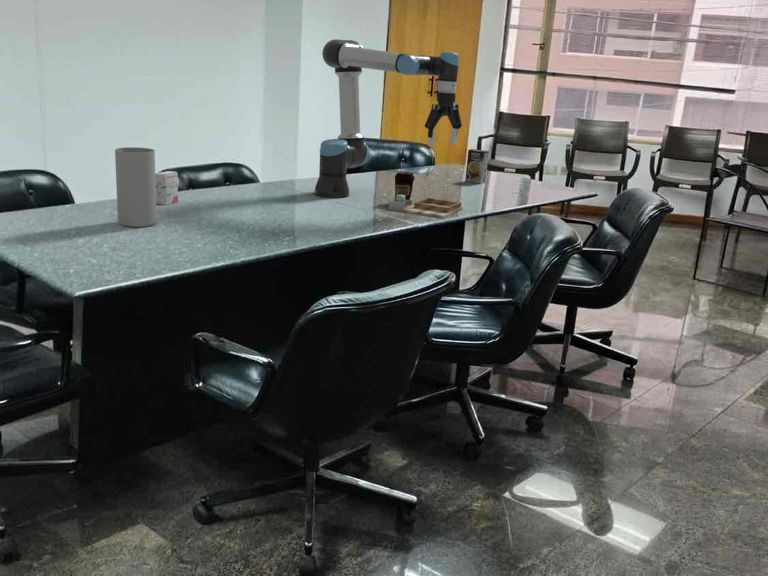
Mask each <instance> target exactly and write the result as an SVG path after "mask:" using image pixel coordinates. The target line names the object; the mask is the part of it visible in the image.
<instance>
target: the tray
mask: <svg viewBox="0 0 768 576" xmlns="http://www.w3.org/2000/svg"><path fill="white" fill-rule="evenodd" d="M462 210H463V206H462V202H460V201H456V200H455V201H453V200H446V199H442V198H433V197H425V198H424V199H421V200H419V201H415V202H414V203H413V204H411V207H408V208H406V209H402V211H401V213H406V212H407V213H408V214H413V213H415V214H414V215H419V214H421V215H420V216H426V215H427V217H433V218H439V219H440V218H441V219H445V218H448V217H449V216H451V214H452V215H453V214H455V213H458V212H461V211H462Z"/></svg>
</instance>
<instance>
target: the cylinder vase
mask: <svg viewBox="0 0 768 576" xmlns="http://www.w3.org/2000/svg"><path fill="white" fill-rule="evenodd" d="M155 153H156V152H155V149H153V148H148V147H134V146H133V147H129V146H126V147H117V148H115V149H114V159H115V161H114V162H115V181H116V182H115V184H116V203H117V204H116V207H117V221H118V224H119V225H120V226H122V225H123V227H126V226H129V227H128V228H144V227H145V228H146V226H148V227H152V226H154V225H155V224H156V223H157V220H158V219H157V204H156V184H155V174H156V158H155V157H156V156H155V155H156V154H155ZM151 225H152V226H151Z"/></svg>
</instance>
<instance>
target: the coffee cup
mask: <svg viewBox="0 0 768 576" xmlns="http://www.w3.org/2000/svg"><path fill="white" fill-rule="evenodd" d="M415 178H416V176H415V175H414V172H409V171H397V172H396V174H395V175H394V197H395V198H396V195H405V199H406V200H411V197H412V193H413V188H414V187H413V186H414V182H415ZM395 198H394V199H395Z"/></svg>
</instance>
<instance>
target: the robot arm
mask: <svg viewBox="0 0 768 576" xmlns="http://www.w3.org/2000/svg"><path fill="white" fill-rule="evenodd" d="M321 52H322V53H321V55H322V59H323V61H324V63H325V64H326V65H327V66H328V67H330V68H333V69H334V74H335V75H336V76H337V77H338V92H339V94H338V95H339V117H340V118H339V119H340V134H339V135H338V136H337V138H333V139H332V138H331V139H326V140H323V141H322V142H321V143H320V146H319V147H320V148H319V172H318V173H319V174H318V175H319V176H318V179H317V182H316V185H315V187H314V195H316V196H318V197H324V198H337V199H338V198H347V197H349V196H350V187H349V184H348V180H347V169H356V168H358V167H360V166H362V165H364V164H365V163H366V162H367V161H368V159H369V155H370V149H369V146H368V145H367V143H366V142H365V139H364V135H363V134H362V133H361V125H360V124H361V116H360V115H361V113H360V112H361V111H360V87H359V86H360V85H359V84H360V83H359V79H360V78H359V77H360V76H361V74H362V73H363V70H362V68H363V69H371V70H375V71H383V72H390V73H391V72H392V73H398V74H402V75H405V76H415V75H416V76H436V77H438V79H437V91H438V92H437V93H436V101H437V104H435V103H432V104H431V108H430V112H429V115H428V117H427V120H426V121H425V124H424V128H426V129H427V130H428V131H427V146H428V147H429V146H430V147H435V138H436V137H435V136H436V135H435V134H436V130H435V127H436V126H437V125H438V123H439V121H440V120H441V118H443V116H444V117H447V118H448V120H449V123H450V125H451V126H452V128H450V138H449V145H454V146H456V144H457V137H458V132H459V131H458V130H460V129H461V128H462V127H463V125H462V119H461V116H460V111H459V104H457V103H455V102H456V92H457V82H458V72H459V66H460V61H459V60H460V54H459V53H457V52H450V51H449V52H448V51H441V53H440V55H439V56H435V55H434V56H433V55H425V54H424V55H423V54H419V55H418V54H407V53H400V52H392V51H385V50H378V49H371V48H365V47H364V46H363V45H362V44H361V43H360V42H358V41H355V40H352V39H351V40H349V39H348V40H347V39H332V40H329V41H328V42H326V44H325V45H324V46H323V48H322V51H321Z"/></svg>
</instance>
